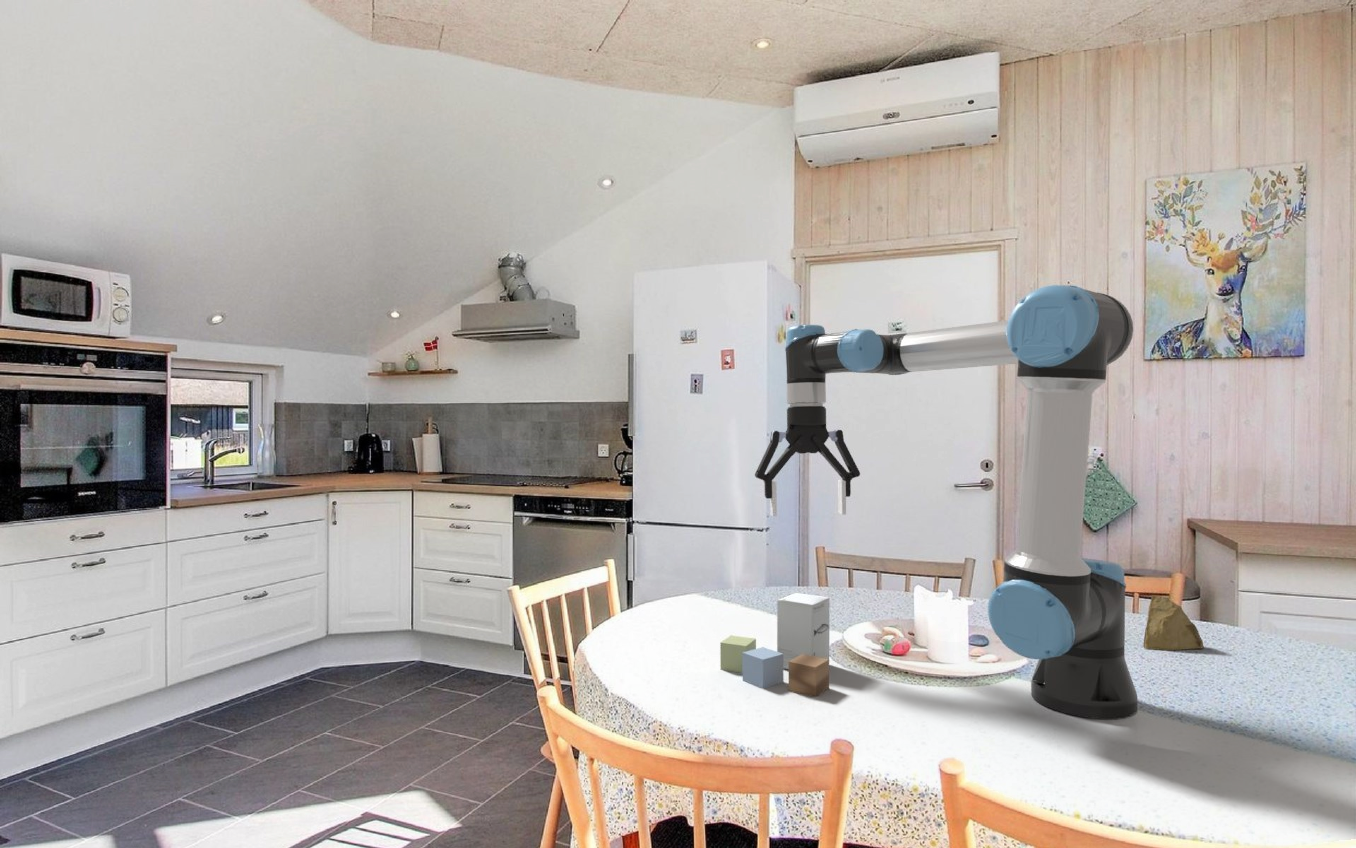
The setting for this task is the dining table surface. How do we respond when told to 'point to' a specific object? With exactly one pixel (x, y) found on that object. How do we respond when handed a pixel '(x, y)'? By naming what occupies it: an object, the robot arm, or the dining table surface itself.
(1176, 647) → the rock
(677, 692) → the dining table surface
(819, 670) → the walnut cube
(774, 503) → the robot arm
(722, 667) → the olive cube
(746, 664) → the slate blue cube
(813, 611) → the supplement box
